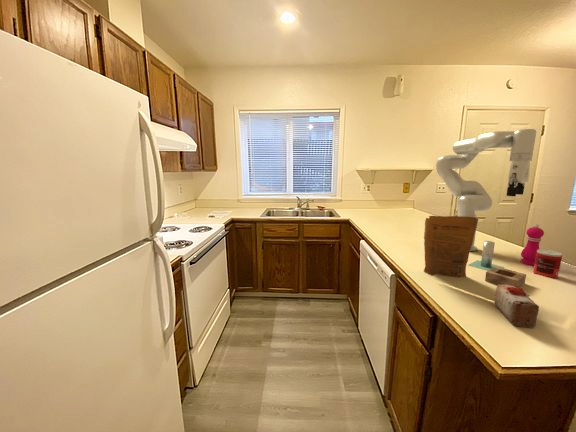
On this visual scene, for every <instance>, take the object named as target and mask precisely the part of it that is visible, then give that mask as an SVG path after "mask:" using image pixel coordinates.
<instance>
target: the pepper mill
mask: <svg viewBox="0 0 576 432" xmlns="http://www.w3.org/2000/svg"><path fill="white" fill-rule="evenodd" d="M526 235H527V237H526V240H527V242H526V244H525V247H524V248H523V249H522V250H521V252H520V256H521V257H522V258H521V259H520V263H521V264H523V265H525V264H526V265H525V266H530V267H534V264H535V259H536V253H537V250H539V249H540V243H541V241H542V237H544V235H545V231H544V229H542V228H540V226H539V224H535V223H534V225H533V227H528V229H526Z"/></svg>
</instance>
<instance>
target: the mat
mask: <svg viewBox="0 0 576 432" xmlns="http://www.w3.org/2000/svg"><path fill="white" fill-rule="evenodd" d="M467 266H468V267H473V268H475V269H479V270H482V271H486V272H487V271H489V270H490V269H492V268H494V267H496V266H497V267H500V268H504V269H505V266H501V265H498V264H494V263H492V265H491V268H486V267H482V266H481V260H478V259H476V260H475V261H473V262H471V263H469V264H467Z"/></svg>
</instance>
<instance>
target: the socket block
mask: <svg viewBox="0 0 576 432" xmlns="http://www.w3.org/2000/svg"><path fill="white" fill-rule="evenodd" d="M526 277H527V274H526V273H522V272H520V271H519V272H518V271H516V270H512V269H507V268H505V267H504V268H500V267H497V266H496V267H494V268H492V269H490V270H489V271H486V272H485V278H484V281H485V282H487V283H490V284H494V285H496V286H497V285H511V286H514V287H516V288H520V289H521V287H522V286H523V285H525V284H526V283H525V282H526Z"/></svg>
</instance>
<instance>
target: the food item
mask: <svg viewBox="0 0 576 432" xmlns="http://www.w3.org/2000/svg"><path fill="white" fill-rule="evenodd" d="M527 291H528V289H526V290H524V289H523V288H521V287H520V288H516V287H514V286H511V285H496V290H495V294H494V296H495V299H494V305H495V306H496V307H497V308H498V309H499V310H500V311H501V313H502V314H503V315H504V316H505V317H506V319H507V320H508V321H509V322H510V323H511V324H512V326H515V327H520V328H521V327H523V328H528V329H535V328H536V327H537V321H538V315H539V309H540V306H539V305H538V304H537V303H536V302H535V301H534V300H532V298H531V297H530V295H529V294H528V293H527Z"/></svg>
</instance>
